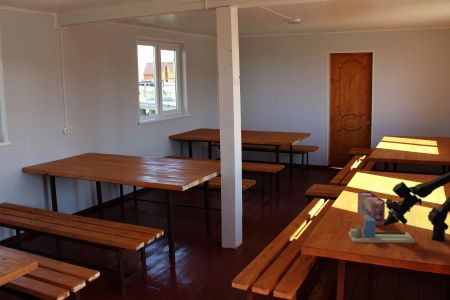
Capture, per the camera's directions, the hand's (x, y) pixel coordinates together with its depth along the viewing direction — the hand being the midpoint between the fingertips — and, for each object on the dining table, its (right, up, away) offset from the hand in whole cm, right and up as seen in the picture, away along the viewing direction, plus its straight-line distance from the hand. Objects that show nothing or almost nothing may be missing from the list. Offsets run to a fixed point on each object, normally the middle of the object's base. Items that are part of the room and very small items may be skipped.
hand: (384, 225), depth 239 cm
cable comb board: (-1, -7, +1) cm, 7 cm away
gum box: (+3, -2, +33) cm, 33 cm away
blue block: (-7, -5, +1) cm, 9 cm away
